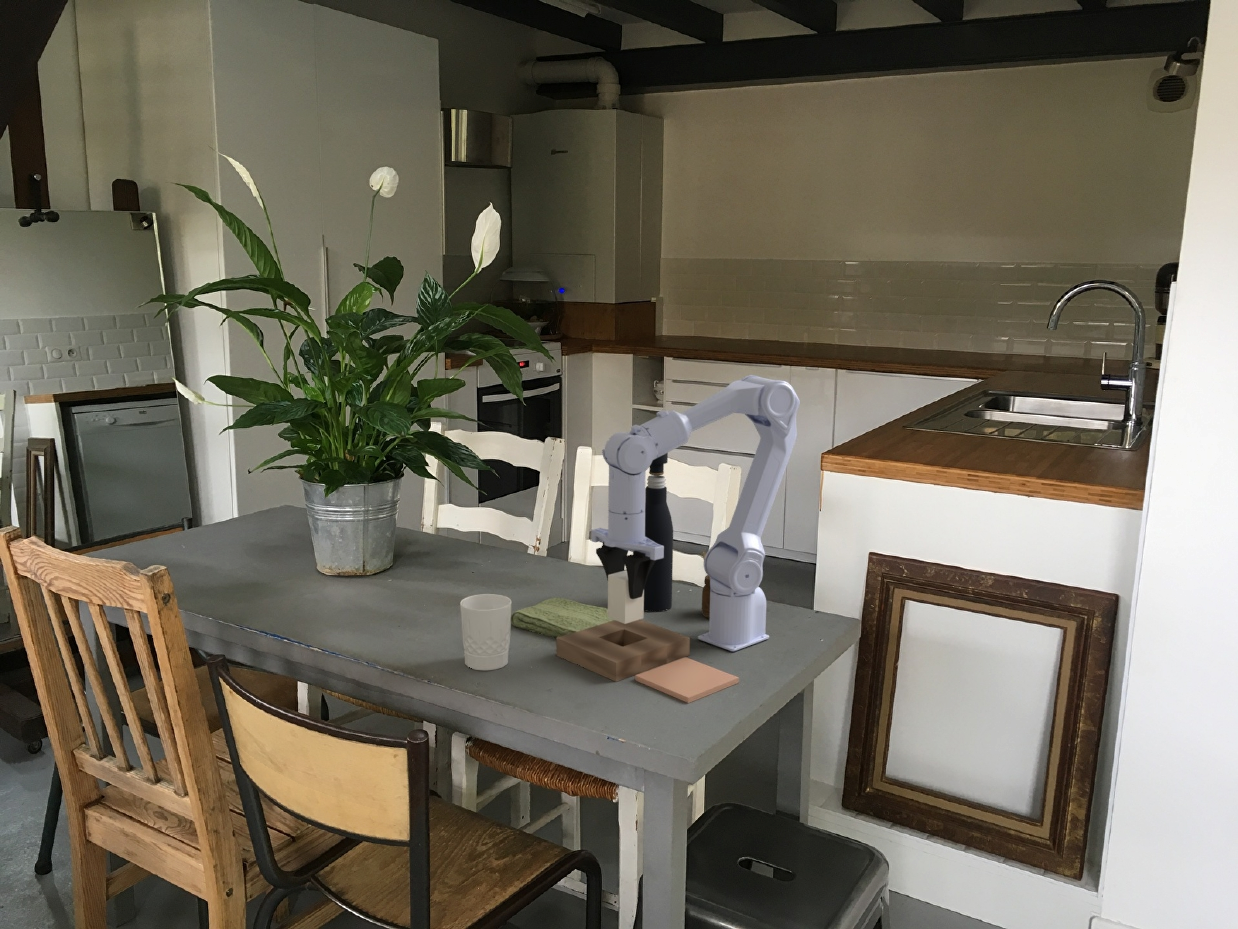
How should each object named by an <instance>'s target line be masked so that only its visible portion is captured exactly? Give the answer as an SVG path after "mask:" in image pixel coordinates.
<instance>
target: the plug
mask: <svg viewBox="0 0 1238 929" xmlns="http://www.w3.org/2000/svg"><path fill="white" fill-rule="evenodd" d="M607 609H608V618H611V619H613V620H616V621H619V622H621V623H624V624H626V623H630V622H633V621H636V620H639V619H640V620H643V619H644V616H645V613H644V611H645V610H644V590H643V594H642V597H640V598H636V599H631V598H630V596H629V587H628V575H627V570H626V569H624V571H621V572H618V573H614V574H610V575H608V580H607Z"/></svg>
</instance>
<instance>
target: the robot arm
mask: <svg viewBox="0 0 1238 929" xmlns="http://www.w3.org/2000/svg"><path fill="white" fill-rule="evenodd" d="M800 404H801V401H800V399H799V397H798V395H797V393H796V391H795V388H793V386H792V385H791V384H790V383H789V382H787V381H784V380H776V379H771V378H765V377H761V376H759V375H756V374H755V375H754V374H750V375H749V374H748V375H746V376H744V377H742V378H741V379H738V380H734V381H732V382H731V383H730V384H728V385H727V386H726V387H724V388H723V389H721V390H719V391H718V392H716V393H714V394H713V395H711V396H708V397H707V398H705V399H703V400H702V401H700V402H698V403H696V404H694V405H693V406H691V407H689V408H687V409H686V410H684V411H682V412H681V413H680V412H678V411H676V410H673V409H671V410H664V409H661V410H659V411H658V412H656V416H655V417H653V418H652V419H650V420H648V421H646V422H644V423H642V424H640V425H639V424H633V425H632V426H630V431H629V432H626V431H618V432H615V433H613V434H612V435H611V436H610V437H609V438H608V440H607V441H606V443H605V444H604V449H602V451H601V452H602V457H603V458H602V459H604V461H605V462H606V464H607V465H608V500H607V502H608V506H607V507H608V510H607V511H608V512H607V513H608V516H607V518H608V520H607V521H608V522H607V523H608V526H607V528H608V529H607V528H602V527H598V528H593V529H590V530H591V532H590V535H591V536H590V538H591V539H590V540H591V542H594V543H602V545H601V546H600V547H597V548H596V549H595V554H596V555H597V557H598V559H599V560H600V562H601V564H602V567H603V569H604V573H605V575H606V580H607V581H608V575H610V574H614V573H618V572H621V571H625V570H627V575H628V587H629V596H630V598H631V599H636V598H640V597H642V594H643V590H644V587H645V583H646V580H647V577H648V575H649V572H650V570H651V568H652V566H653V565H654V563H655V562H656V560H657V559H661V558H664V546H662V545H659V544H657V543H655V542H654V541H652V540H650V539H649V538H647V537H645V502H646V485H647V482H646V481H647V480H646V475H647V474H646V473H647V472H646V471H647V470H648V469H650V465H651V463H652V461H653V460H654V459H656V458H658V457H660V456H662V455H664V454H666V453H670V452H671V451H674V450H675V449H677V448H678V449H679V447H681V446H683V445H686V444H687V443H688V441H689V439H690V437H691V433H692V432H694V431H697V430H699V429H701V428H704V427H705V426H706V427H707V425H710V424H712V423H714V422H717V421H719V420H721V419H724V418H725V417H729V416H731V415H733V414H740V415H741V414H742V415H745V416H746V417H747V418H748V419H749V420H750V421H751V422H752V423H753V426H754V427H755V429H756V432H758V435H759V437H760V439H759V442H758V444H757V448H756V450H755V453H754V457H753V460H752V462H751V466H750V467H749V470H748V474H747V475H746V479H745V481H744V484H743V486H742V490H741V493H740V495H739V498H738V501H737V504H736V506H735V509H734V512H733V514H732V517H731V520H730V524H729V526H728V527H727V528H726V529H724V530H723V531H721V532H720V533H718V534H717V537H716V540H715V542H713V544H712V546H711V547H710V548H709V549H708V550H707V552H705V553H706V555H705V554H704V555H705V558H704V559H703V569H704V571H705V574H706V576H707V575H708V576H709V577H710V618H708V620H709V626H708V627H709V628H708V632H706V633H703V634H700V635H698V636H697V639H698V640H700V641H703V642H706V643H708V644H710V645H713V646H716V647H719V648H722V649H725V650H726V651H727V650H728V651H730V652H736V651H738V650H742V649H745V648H746V647H750V646H751V645H755V644H758V643H761V642H763V641H765V640H768V639H770V635H769V634H766V625H767V624H766V623H767V619H766V618H767V598H766V595H765V593H764V591H763V589H762V587H759V586H760V584H761V582H762V580H763V578H764V571H763V569H764V568H763V564H764V560H765V557H766V551H765V549H764V546H763V544H762V540H761V539H762V538H761V537H762V535H763V533H764V529H765V527H766V526H767V521H768V518H769V516H770V514H771V510H772V508H773V505H774V502H775V499H776V496H777V494H778V491H779V488H780V487H781V483H782V480H783V477H784V475H785V474H784V473H785V471H786V469H787V467H788V464H789V460H790V458H791V455H792V453H793V449H794V447H795V444H796V441H797V438H798V430H797V427H798V426H797V425H798V424H797V413H798V411H799V410H798V409H799V407H800ZM629 552H631V553H632V554H628V553H629Z"/></svg>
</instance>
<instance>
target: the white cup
mask: <svg viewBox="0 0 1238 929" xmlns="http://www.w3.org/2000/svg"><path fill="white" fill-rule="evenodd" d="M459 604H460V605H459V606H460V607H459V608H460V620H461V622H460V623H461V635H462V646H463V649H464V651H463V654H464V665H465V666H467V668H469V667H470V669H471V668H472V670H474V671H475V670H476V671H495V670H499V669H501V668H504V667H505V666H506V665H508V663H509V648H510V646H511V645H510V644H511V642H510V640H511V627H512V626H511V624H512V623H511V615H512V599H511V598H510V597H508V596H506V595H502V594H493V593H483V594H482V593H480V594H474V595H469V596H466V597H464V598H463V599H461V601H460V602H459Z"/></svg>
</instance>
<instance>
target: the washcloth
mask: <svg viewBox="0 0 1238 929" xmlns="http://www.w3.org/2000/svg"><path fill="white" fill-rule="evenodd" d="M610 621H613V619H611V618H608V608H606V607H600V606H595V605H591V604H586V603H585V604H584V603H582V602H581V603H580V602H577V601H575V600H573V599H568V598H564V597H551V598H548V599H544V600H543V601H541V602H538V603H536V604H535V605H533V606H526V607H523V608H520V609H518V610H517V609H516V611H514V612H513V613H511V624H512V626H514V627H515V626H516V627H515V628H519V629H522V628H523V629H522V630H526V631H528V630H529V632H531V631H532V632H531V633H537V634H539V633H542V634H541V635H543V634H546V635H545V636H548V635H549V636H550V637H553V636H554V638H558V637H561V636H564V635H568V634H571V633H574V632H577V631H581V630H584V629H587V628H590V627H594V626H597V625H600V624H604V623H607V622H610Z"/></svg>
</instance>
